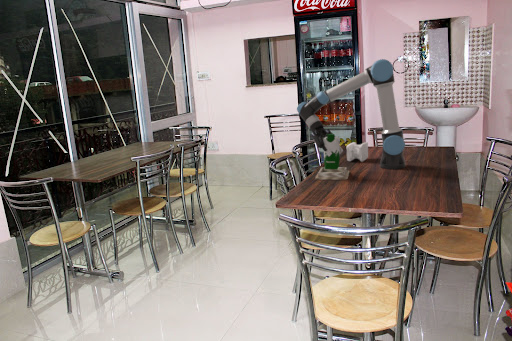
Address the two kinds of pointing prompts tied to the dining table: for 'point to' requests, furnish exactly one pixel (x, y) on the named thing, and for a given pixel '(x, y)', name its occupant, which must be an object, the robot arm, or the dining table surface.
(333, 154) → the milk carton
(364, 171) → the dining table surface
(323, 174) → the tray
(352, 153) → the cable organizer
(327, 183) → the dining table surface
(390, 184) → the dining table surface
